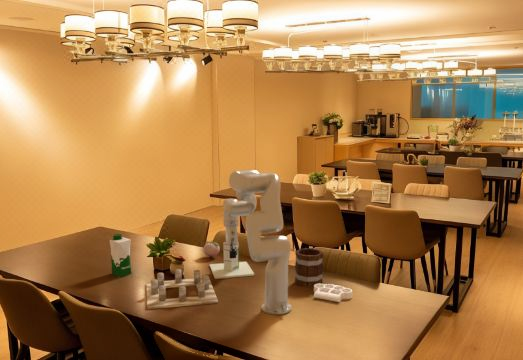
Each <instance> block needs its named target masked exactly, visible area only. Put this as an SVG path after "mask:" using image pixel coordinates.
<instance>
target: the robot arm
mask: <svg viewBox="0 0 523 360" xmlns="http://www.w3.org/2000/svg"><path fill="white" fill-rule="evenodd" d="M228 183H229V184H228V185H229V187H230V188H231V189H232V190H233V191H235V194H236V197H237V198H238V199H239V200H238V199H236V198H231V197H230V198H226V199H224V200H223V206H222V207H223V211H222V212H223V227H224V228H225V242H227V243H228V246H230V258H236V246H237V245H238V242H239V241H238V240H239V239H238V238H239V237H238V227H239V217H242V216H243V217H245V216H246V217H245V231H246V239H247V246H248V252H249V256H250V258H251V260H252V261H253V262H266V261H267V263H266V266H265V271H264V273H265V276H264V279H265V280H264V281H265V282H264V284H265V285H264V286H265V287H264V288H265V289H264V291H265V293H264V299H265V300H264V303H262V304H261V310H262V311H263V312H264V313H266V314H270V315H286V314H288V313H289V312H291V311H292V304H290V303H289V260H290V255H291V250H292V244H291V240H290V239H289V238H288V236H285V235H270V236H263V237H262V236H261V235H263V234H272V233H273V234H274V233H279V232H281V231H282V230H283V228H284V218H283V212H282V211H283V209H282V205H281V203H282V202H281V186H282V185H281V180H280V177H279V175H277V174H276V173H273V172H259V171H258V170H255V169H243V170H241V169H238V170H233V171H232V172H231V173H230V175H229V178H228ZM260 193H262V194H261V196H260V198H259V204H260V205H259V206H260V210H257V211H255V210H256V208H257V206H258V205H257V204H258V201H257V196H256V194H260ZM231 244H232V245H231ZM235 245H236V246H235ZM232 246H233V247H232ZM231 247H232V248H231Z"/></svg>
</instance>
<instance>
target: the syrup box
mask: <svg viewBox="0 0 523 360" xmlns="http://www.w3.org/2000/svg"><path fill="white" fill-rule="evenodd" d="M222 244H223V245H222V246H223V248H222V250H223V263H224V269H226V270H229V271H233V270H236V269H238V268H239V262H240V254H239V253H240V252H239V249H240V246H239V241H238V245H237V246H236V245H235V246H236V258H230V246H228V243H227V242H226V241H224V242H222ZM231 245H232V244H231ZM232 247H233V246H232ZM232 247H231V248H232Z"/></svg>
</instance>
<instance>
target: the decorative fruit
mask: <svg viewBox="0 0 523 360" xmlns="http://www.w3.org/2000/svg"><path fill="white" fill-rule="evenodd" d="M212 241H213V240H209V241H205V242H204V245H203V253H204V254H205V255H206V256H207V257H210V258H211V259H212V258H214V257H216V256H217V255H218V254H219V253H220V251H221V248H220V244H219V243H217V242H216V241H214V242H212Z"/></svg>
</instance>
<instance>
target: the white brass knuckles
mask: <svg viewBox="0 0 523 360" xmlns="http://www.w3.org/2000/svg"><path fill="white" fill-rule="evenodd" d="M313 293H314V294H313V298H315V299H321V300H326V301H330V302H335V303H341V302H342V300H350V299H352V298H353V290H352V289H351V288H348V287H344V286H343V285H336V284H333V283H328V284H327V283H325V284H324V283H322V284H321V283H319V284H315V285H314V287H313Z"/></svg>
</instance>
